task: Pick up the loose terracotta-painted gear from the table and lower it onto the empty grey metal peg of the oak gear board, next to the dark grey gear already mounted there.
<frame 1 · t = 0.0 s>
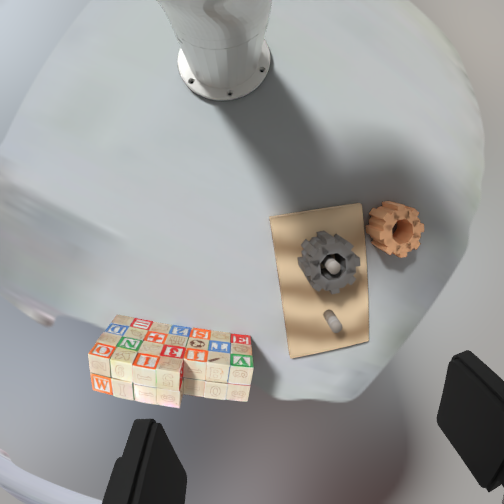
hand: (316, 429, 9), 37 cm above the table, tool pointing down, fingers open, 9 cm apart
gear board: (323, 283, 47), on the table
stack of blocks: (181, 341, 48), on the table
loose gear: (387, 225, 45), on the table
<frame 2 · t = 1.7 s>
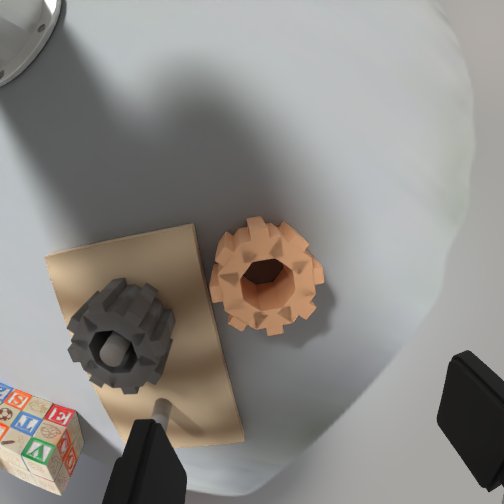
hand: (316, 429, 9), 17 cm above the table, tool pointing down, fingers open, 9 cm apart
gear board: (151, 357, 27), on the table
stack of blocks: (12, 400, 28), on the table
loose gear: (260, 262, 25), on the table
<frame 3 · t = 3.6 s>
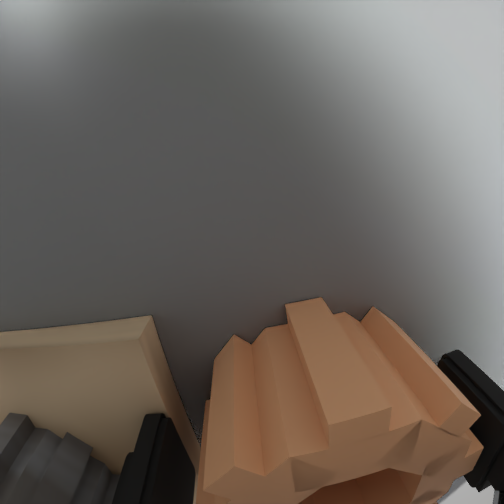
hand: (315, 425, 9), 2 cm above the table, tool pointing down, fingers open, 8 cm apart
gear board: (112, 502, 12), on the table
loose gear: (313, 394, 10), on the table
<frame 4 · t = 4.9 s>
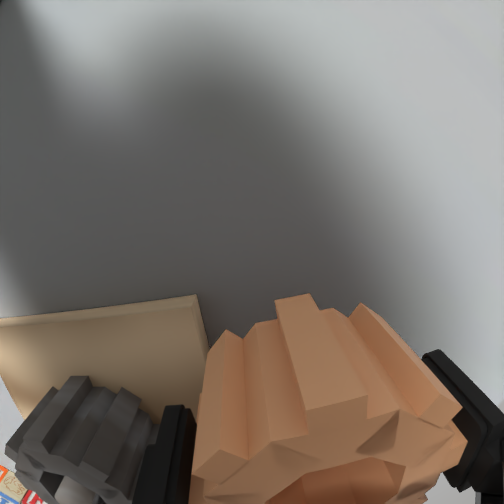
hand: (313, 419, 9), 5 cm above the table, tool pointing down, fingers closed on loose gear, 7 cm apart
gear board: (142, 463, 16), on the table
loose gear: (304, 388, 11), point 4 cm above the table, touching gripper
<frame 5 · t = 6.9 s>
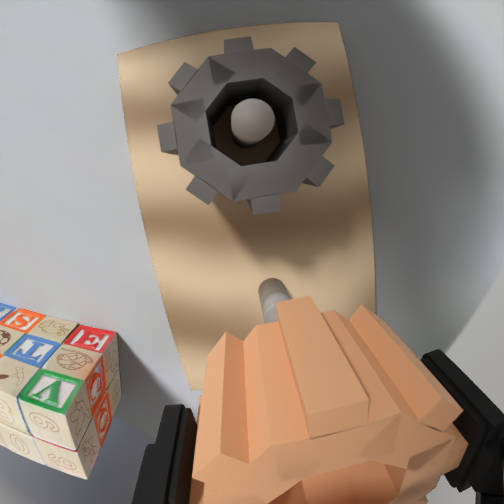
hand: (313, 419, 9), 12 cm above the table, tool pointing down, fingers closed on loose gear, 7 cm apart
gear board: (257, 211, 19), on the table
stack of blocks: (12, 333, 21), on the table
loose gear: (304, 390, 11), point 10 cm above the table, touching gripper
when the fingers open (4 cm above the table, at t = 9.2 s): loose gear stays where it is, resting on gear board.
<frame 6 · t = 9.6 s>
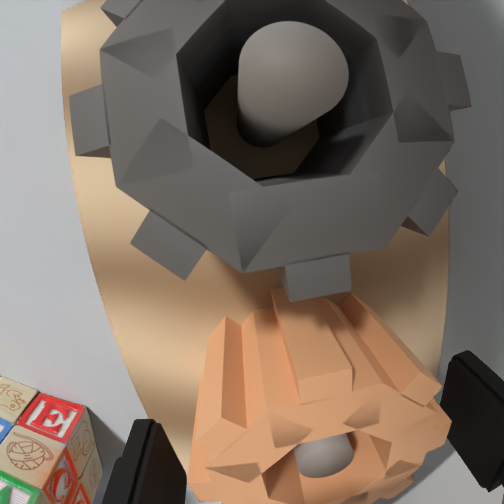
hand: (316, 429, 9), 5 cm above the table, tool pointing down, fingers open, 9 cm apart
gear board: (278, 251, 12), on the table
loose gear: (298, 373, 12), point 1 cm above the table, touching gear board
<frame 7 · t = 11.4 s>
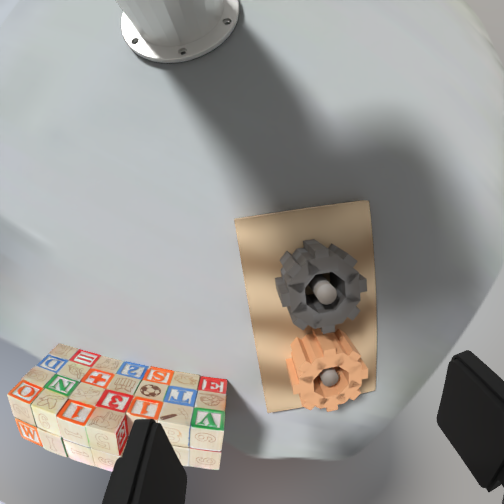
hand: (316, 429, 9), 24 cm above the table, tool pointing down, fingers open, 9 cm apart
gear board: (313, 313, 33), on the table
stack of blocks: (137, 382, 34), on the table
loose gear: (319, 356, 32), point 1 cm above the table, touching gear board
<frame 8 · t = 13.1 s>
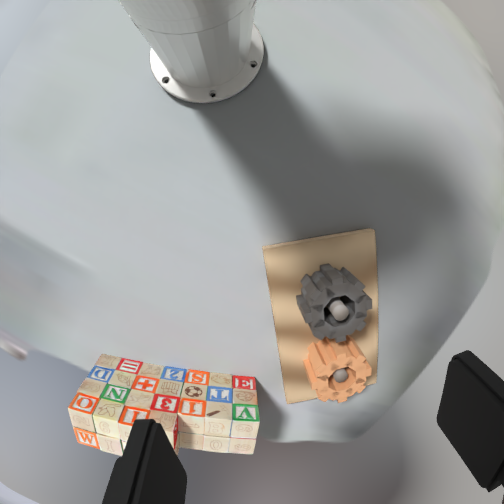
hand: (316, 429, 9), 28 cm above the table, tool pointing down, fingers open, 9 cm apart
gear board: (326, 322, 39), on the table
stack of blocks: (175, 383, 41), on the table
loose gear: (331, 357, 39), point 1 cm above the table, touching gear board
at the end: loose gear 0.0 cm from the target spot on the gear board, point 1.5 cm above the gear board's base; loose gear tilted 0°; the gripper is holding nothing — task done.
